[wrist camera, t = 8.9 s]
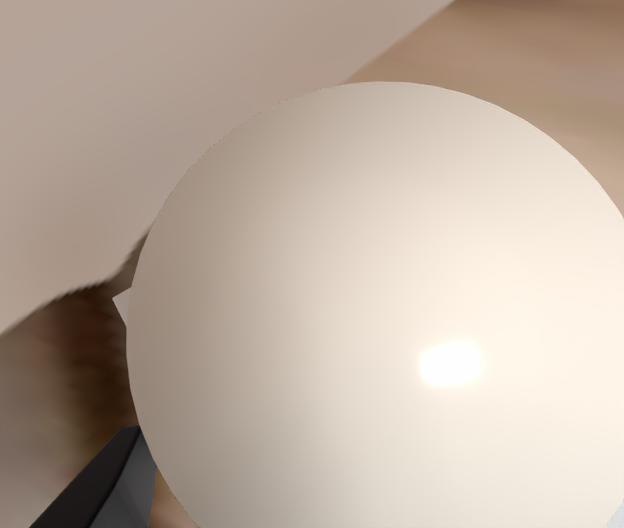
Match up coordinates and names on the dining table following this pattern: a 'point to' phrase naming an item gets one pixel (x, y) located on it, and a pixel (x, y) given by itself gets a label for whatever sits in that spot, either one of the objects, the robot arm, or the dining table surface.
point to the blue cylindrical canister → (384, 321)
